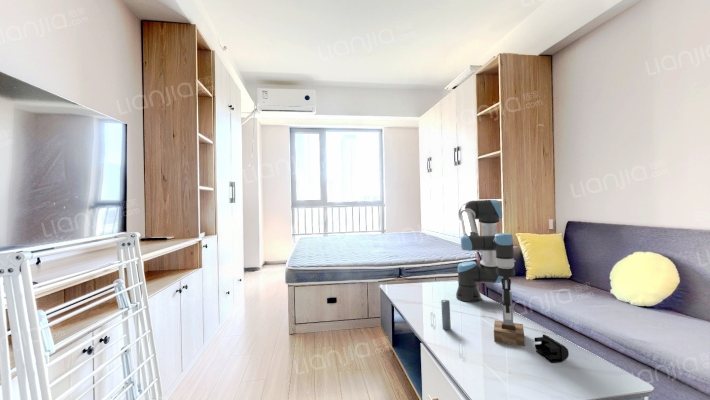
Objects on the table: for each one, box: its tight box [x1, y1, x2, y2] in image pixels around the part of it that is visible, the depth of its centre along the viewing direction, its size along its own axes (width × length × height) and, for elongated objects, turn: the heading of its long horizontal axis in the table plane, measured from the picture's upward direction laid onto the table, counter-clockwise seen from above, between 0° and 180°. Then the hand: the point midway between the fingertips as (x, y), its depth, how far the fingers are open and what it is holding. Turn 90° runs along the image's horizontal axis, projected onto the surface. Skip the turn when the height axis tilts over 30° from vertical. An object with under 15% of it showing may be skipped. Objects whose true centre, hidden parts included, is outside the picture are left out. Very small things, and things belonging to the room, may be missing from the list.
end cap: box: [534, 334, 570, 364], centre depth 117 cm, size 10×7×7 cm
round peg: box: [440, 299, 452, 331], centre depth 147 cm, size 4×4×14 cm
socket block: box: [493, 320, 526, 347], centre depth 134 cm, size 12×12×5 cm
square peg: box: [501, 290, 514, 325], centre depth 134 cm, size 4×4×14 cm
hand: (508, 317), depth 134 cm, fingers closed on square peg, 4 cm apart
